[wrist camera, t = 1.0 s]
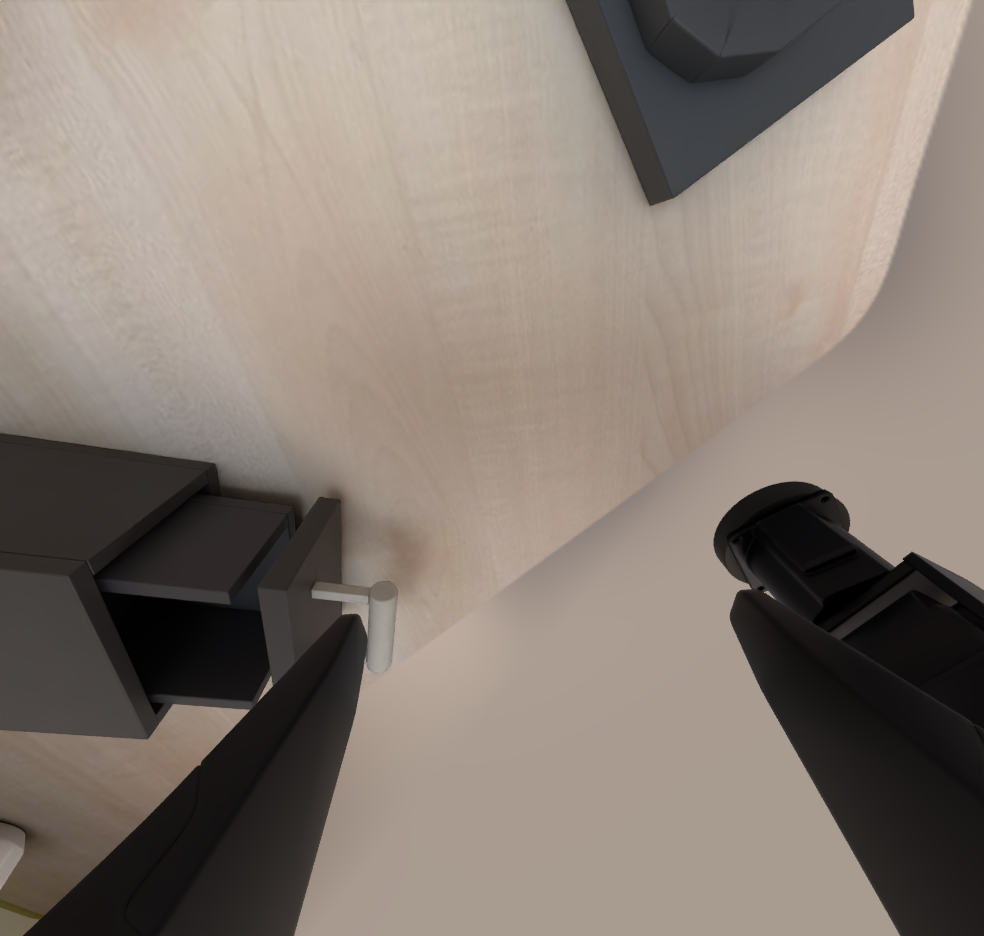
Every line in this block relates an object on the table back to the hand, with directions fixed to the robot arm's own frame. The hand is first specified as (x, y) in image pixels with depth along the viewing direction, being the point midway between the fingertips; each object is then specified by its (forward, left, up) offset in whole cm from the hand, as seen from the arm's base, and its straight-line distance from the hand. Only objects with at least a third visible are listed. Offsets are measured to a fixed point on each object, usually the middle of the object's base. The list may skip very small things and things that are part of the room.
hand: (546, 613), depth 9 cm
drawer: (+1, +17, -12) cm, 21 cm away
